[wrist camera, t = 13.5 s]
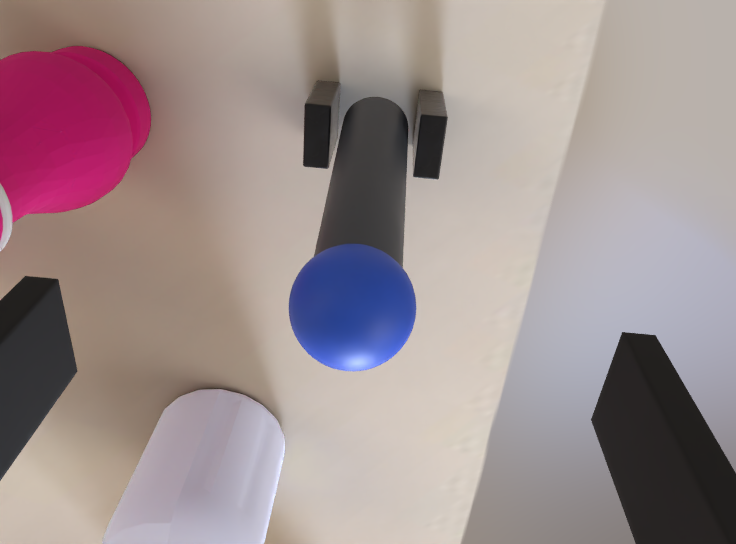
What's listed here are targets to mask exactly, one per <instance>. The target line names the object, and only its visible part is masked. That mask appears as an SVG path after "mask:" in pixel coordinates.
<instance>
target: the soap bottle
mask: <svg viewBox="0 0 736 544" xmlns="http://www.w3.org/2000/svg"><path fill="white" fill-rule="evenodd" d="M284 452H285V437H284V434H283V432H282V430H281V427H280V425H279V423H278V420H277V419H276V418H275V417H274V416H273V415H272V414H271V413H270V412H269V411H268V410H267V409H266V408H265V407H264V406H263V405H262V404H260V403H258V402H256V401H254V400H253V399H251V398H249V397H247V396H245V395H243V394H239V393H235V392H231V391H227V390H223V389H205V390H197V391H194V392H191V393H188V394H185V395H182V396H180V397H178V398H177V399H176V400H175V401H173V402H172V403H171V404H170V405H169V406H168V407H166V408H165V409H164V411H163V413H162V415H161V417H160V419H159V421H158V423H157V425H156V427H155V429H154V431H153V433H152V436H151V438H150V440H149V442H148V444H147V446H146V448H145V450H144V452H143V454H142V456H141V458H140V460H139V462H138V464H137V466H136V468H135V470H134V473H133V475H132V477H131V479H130V481H129V483H128V485H127V487H126V489H125V491H124V493H123V495H122V497H121V499H120V501H119V503H118V505H117V507H116V510H115V512H114V514H113V516H112V518H111V520H110V522H109V524H108V527H107V529H106V532H105V534H104V537H103V544H264V542H265V538H266V533H267V529H268V525H269V520H270V516H271V511H272V507H273V502H274V498H275V494H276V489H277V485H278V480H279V476H280V472H281V467H282V463H283V458H284Z"/></svg>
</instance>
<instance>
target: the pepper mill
mask: <svg viewBox="0 0 736 544" xmlns="http://www.w3.org/2000/svg"><path fill="white" fill-rule="evenodd" d="M150 127H151V112H150V107H149V103H148V100H147V97H146V94H145V92H144V90H143V88H142V86H141V85H140V83H139V81H138V80H137V79H136V77H135V76H134V75H133V73H132V72H131V71H130V70H129V69H128V68H127V67H126V66H124V65H123V64H122V63H121V62H120V61H118V60H117V59H115V58H114V57H112V56H111V55H109V54H107V53H105V52H102V51H100V50H97V49H94V48H90V47H83V46H71V47H66V48H62V49H58V50H56V51H54V52H39V51H30V52H21V53H17V54H14V55H10V56H8V57H6V58H4V59H2V60H0V251H1V250H2V249H3V248H4V247H5V246H6V244H7V242H8V241H9V238H10V235H11V232H12V223H13V222H15V221H17V220H18V219H20V218H21V217H23V216H24V215H26V214H36V213H58V212H65V211H69V210H73V209H77V208H81V207H84V206H86V205H89V204H91V203H93V202H95V201H97V200H98V199H100V198H101V197H103V196H104V195H106V194H107V193H109V192H110V191H111V190H113V189H114V188H115V187H116V186H117V184H118V183H119V182H120V181H121V180H122V178H123V177H124V175H125V173H126V171H127V169H128V167H129V165H130V161H131V158H132V157H134V156H135V155H136V154H137V153H138V152H139V151H140V149H141V148H142V147H143V146H144V144H145V142H146V140H147V138H148V135H149V131H150Z"/></svg>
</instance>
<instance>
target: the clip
mask: <svg viewBox="0 0 736 544" xmlns="http://www.w3.org/2000/svg"><path fill="white" fill-rule="evenodd" d="M339 102H340V83H339V82H329V81H317V83H316V85H315V86H314V88H313V90H312V92H311V94H310V96H309V98H308V100H307V101H306V103H305V116H304V154H303V165H304V166H305V167H315V168H325V169H327V168H328V167H329V164H330V161H331V158H332V155H333V151H334V148H335V145H336V142H337V138H338V120H339ZM446 125H447V112H446V107H445V102H444V96H443V92H437V91H427V90H420V91H419V97H418V106H417V114H416V123H415V131H414V139H413V177H418V178H428V179H439V173H440V166H441V159H442V152H443V146H444V139H445V132H446Z"/></svg>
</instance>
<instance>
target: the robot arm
mask: <svg viewBox="0 0 736 544" xmlns="http://www.w3.org/2000/svg"><path fill="white" fill-rule="evenodd" d="M76 372H77V367H76V362H75V357H74V352H73V348H72V343H71V338H70V333H69V329H68V324H67V319H66V314H65V310H64V305H63V300H62V295H61V290H60V286H59V281H58V279H51V278H40V277H29V276H25V277H24V278H23V279H22V280H21V281H20V282H19V283H18V284H17V285H16V286H15V287H14V288H13V289H12V290H11V291H10V292H9V293H8V294H7V295H6V296H4V297H3V298H2V299H1V300H0V480H1V479H2V478H3V476H4V475H5V473H6V472H7V470H8V469H9V468H10V466H11V465H12V463H13V462H14V460H15V459H16V458H17V456H18V455H19V453H20V452H21V451H22V449H23V448H24V446H25V445H26V443H27V442H28V441H29V439H30V438H31V436H32V435H33V434H34V432H35V431H36V429H37V428H38V426H39V425H40V424H41V422H42V421H43V419H44V418H45V416H46V415H47V414H48V412H49V411H50V409H51V408H52V407H53V405H54V404H55V402H56V401H57V399H58V398H59V397H60V395H61V394H62V392H63V391H64V390H65V388H66V387H67V385H68V384H69V382H70V381H71V380H72V378H73V377H74V375H75V374H76ZM591 421H592V424H593V426H594V429H595V432H596V435H597V437H598V440H599V443H600V446H601V448H602V451H603V454H604V457H605V460H606V462H607V465H608V468H609V471H610V473H611V476H612V479H613V482H614V485H615V487H616V490H617V493H618V495H619V498H620V501H621V504H622V507H623V509H624V512H625V515H626V518H627V520H628V523H629V526H630V529H631V531H632V534H633V537H634V540H635V543H636V544H736V473H735V471H734V469H733V468H732V466H731V464H730V463H729V461H728V459H727V457H726V456H725V454H724V452H723V451H722V449H721V447H720V445H719V444H718V442H717V440H716V439H715V437H714V435H713V433H712V432H711V430H710V428H709V427H708V425H707V423H706V422H705V420H704V418H703V416H702V414H701V413H700V411H699V409H698V408H697V406H696V404H695V402H694V401H693V399H692V397H691V396H690V394H689V392H688V390H687V389H686V387H685V386H684V384H683V382H682V380H681V379H680V377H679V375H678V373H677V372H676V370H675V368H674V366H673V365H672V363H671V361H670V360H669V358H668V356H667V354H666V353H665V351H664V349H663V348H662V346H661V344H660V342H659V341H658V339H657V337H656V336H655V335H646V334H636V333H625V332H622V335H621V337H620V340H619V343H618V346H617V349H616V352H615V354H614V357H613V360H612V363H611V365H610V368H609V371H608V374H607V377H606V380H605V382H604V385H603V388H602V391H601V393H600V397H599V399H598V402H597V405H596V408H595V410H594V413H593V416H592V419H591Z"/></svg>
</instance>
